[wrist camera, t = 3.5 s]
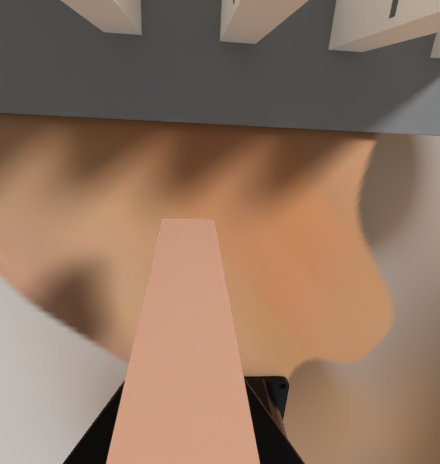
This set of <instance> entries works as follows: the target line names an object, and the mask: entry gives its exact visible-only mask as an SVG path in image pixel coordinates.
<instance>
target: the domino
mask: <svg viewBox="0 0 440 464" xmlns="http://www.w3.org/2000/svg"><path fill="white" fill-rule="evenodd" d="M106 464H260V461H259V456H258V450H257V445H256V440H255V434H254V429H253V424H252V419H251V413H250V408H249V403H248V397H247V392H246V387H245V381H244V376H243V371H242V365H241V360H240V355H239V350H238V344H237V339H236V334H235V328H234V323H233V318H232V312H231V307H230V302H229V296H228V291H227V286H226V281H225V275H224V270H223V265H222V259H221V254H220V249H219V243H218V238H217V233H216V227H215V222H214V219H184V218H162V221H161V226H160V230H159V234H158V239H157V243H156V248H155V252H154V256H153V261H152V265H151V269H150V274H149V278H148V282H147V287H146V291H145V296H144V300H143V304H142V309H141V313H140V317H139V322H138V326H137V331H136V335H135V339H134V344H133V348H132V352H131V357H130V361H129V365H128V370H127V374H126V379H125V383H124V387H123V392H122V396H121V400H120V405H119V409H118V414H117V418H116V422H115V427H114V431H113V435H112V440H111V444H110V448H109V453H108V457H107V462H106Z"/></svg>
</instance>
